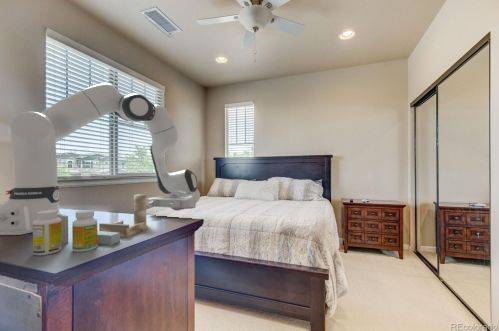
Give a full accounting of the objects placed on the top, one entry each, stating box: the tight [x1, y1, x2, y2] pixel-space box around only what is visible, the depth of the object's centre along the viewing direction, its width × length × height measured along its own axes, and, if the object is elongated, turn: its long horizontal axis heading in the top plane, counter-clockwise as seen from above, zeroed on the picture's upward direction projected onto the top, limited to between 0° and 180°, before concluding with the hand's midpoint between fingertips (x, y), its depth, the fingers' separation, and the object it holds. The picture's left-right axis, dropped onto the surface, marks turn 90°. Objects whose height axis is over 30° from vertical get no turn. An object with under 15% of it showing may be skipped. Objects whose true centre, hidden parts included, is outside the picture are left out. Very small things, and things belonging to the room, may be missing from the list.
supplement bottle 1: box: [32, 210, 63, 257], centre depth 62 cm, size 6×6×10 cm
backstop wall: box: [97, 230, 121, 246], centre depth 70 cm, size 3×12×2 cm, turn 76°
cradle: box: [98, 220, 147, 238], centre depth 80 cm, size 9×10×4 cm
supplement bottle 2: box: [71, 209, 98, 253], centre depth 64 cm, size 5×5×10 cm
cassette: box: [57, 212, 69, 245], centre depth 72 cm, size 12×2×8 cm, turn 54°
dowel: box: [133, 193, 147, 225], centre depth 88 cm, size 4×4×11 cm
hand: (160, 205), depth 99 cm, fingers open, 8 cm apart
